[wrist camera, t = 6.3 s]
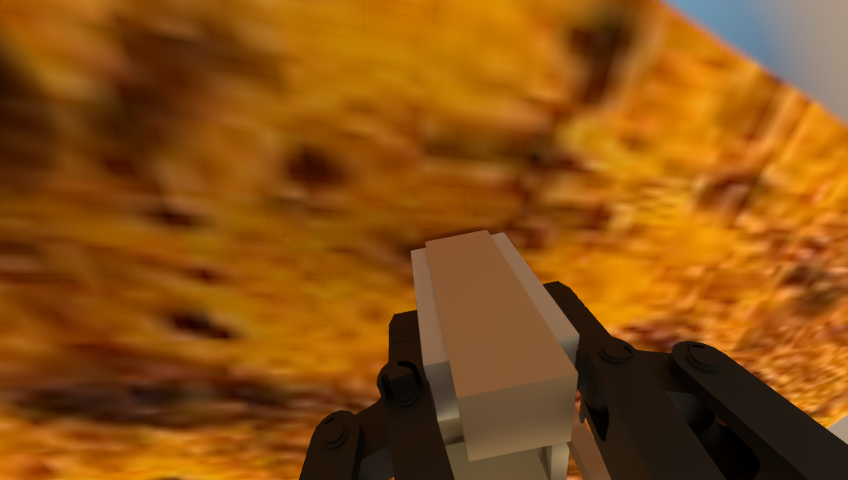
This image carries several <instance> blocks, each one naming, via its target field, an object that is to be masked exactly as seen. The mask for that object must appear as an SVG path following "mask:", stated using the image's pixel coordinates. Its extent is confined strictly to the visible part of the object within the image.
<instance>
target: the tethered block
mask: <svg viewBox="0 0 848 480" xmlns="http://www.w3.org/2000/svg"><path fill="white" fill-rule="evenodd" d="M425 245H426V250H427V255H428V260H429V265H430V270H431V275H432V279H433V284H434V289H435V294H436V299H437V304H438V309H439V314H440V319H441V323H442V328H443V333H444V338H445V343H446V348H447V353H448V358H449V363H450V368H451V373H452V378H453V383H454V389H455V394H456V399H457V404H458V409H459V415H460V420H461V425H462V430H463V434H464V439H465V442H461V443H456V444H451V445H446V446H445V448H446V451H447V455H448V458H449V461H450V465H451V468H452V471H453V475H454V478H455V480H548V479H547V477H546V474H545V472H544V469H543V467H542V464H541V461H540V459H539V456H538V454H537V451H536V449H535V448H539V447H544V446H549V445H554V444H559V443H564V442H569V441H571V434H572V425H573V416H574V408H575V399H576V390H577V381H578V372H577V371H576V369H575V367H574V366H573V364H572V363H571V361H570V360H569V358H568V356H567V355H566V353H565V352H564V350H563V349H562V347H561V345H560V344H559V342H558V341H557V339H556V338H555V336H554V334H553V333H552V331H551V330H550V328H549V327H548V325H547V323H546V322H545V320H544V319H543V317H542V316H541V314H540V312H539V311H538V309H537V308H536V306H535V305H534V303H533V301H532V300H531V298H530V297H529V295H528V294H527V292H526V290H525V289H524V287H523V286H522V284H521V283H520V281H519V279H518V278H517V276H516V275H515V273H514V272H513V270H512V268H511V267H510V265H509V264H508V262H507V261H506V259H505V257H504V256H503V254H502V253H501V251H500V250H499V248H498V246H497V245H496V243H495V242H494V240H493V239H492V237H491V235H490V234H489V232H488V231H487V230H482V231H477V232H472V233H467V234H462V235H457V236H452V237H447V238H442V239H436V240H431V241H426V242H425Z"/></svg>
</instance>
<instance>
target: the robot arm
mask: <svg viewBox="0 0 848 480" xmlns="http://www.w3.org/2000/svg"><path fill="white" fill-rule="evenodd" d="M491 237H492V239H493V240H494V242H495V243H496V245H497V246H498V248H499V250H500V251H501V253H502V254H503V256H504V257H505V259H506V261H507V262H508V264H509V265H510V267H511V268H512V270H513V272H514V273H515V275H516V276H517V278H518V279H519V281H520V283H521V284H522V286H523V287H524V289H525V290H526V292H527V294H528V295H529V297H530V298H531V300H532V301H533V303H534V305H535V306H536V308H537V309H538V311H539V312H540V314H541V316H542V317H543V319H544V320H545V322H546V323H547V325H548V327H549V328H550V330H551V331H552V333H553V334H554V336H555V338H556V339H557V341H558V342H559V344H560V345H561V347H562V349H563V350H564V352H565V353H566V355H567V356H568V358H569V360H570V361H571V363H572V364H573V366H574V367H575V369H576V371H577V372H578V381H577V389H578V390H579V392H580V394H581V395H582V397H581V405H580V413H579V418H580V423H584V420H585V417H586V419H587V422H588V424H589V427H590V429H591V432H592V434H593V437H594V439H595V441H596V444H597V446H598V449H599V451H600V454H601V456H602V458H603V461H604V463H605V466H606V468H607V471H608V473H609V476H610V478H611V480H848V444H846V443H845V442H844V441H842V440H841V439H839V438H838V437H837V436H835V435H834V434H833V433H831V432H830V431H829V430H827V429H826V428H825V427H823V426H822V425H821V424H819V423H818V422H816V421H815V420H814V419H812V418H811V417H810V416H808V415H807V414H806V413H804V412H803V411H802V410H800V409H799V408H797V407H796V406H795V405H793V404H792V403H791V402H789V401H788V400H787V399H785V398H784V397H783V396H781V395H780V394H779V393H777V392H776V391H774V390H773V389H772V388H770V387H769V386H768V385H766V384H765V383H764V382H762V381H761V380H760V379H758V378H757V377H755V376H754V375H753V374H751V373H750V372H749V371H747V370H746V369H745V368H743V367H742V366H741V365H739V364H738V363H737V362H735V361H734V360H732V359H731V358H730V357H728V356H727V355H726V354H724V353H723V352H721V351H719V350H717V349H716V348H714V347H712V346H709V345H706V344H703V343H699V342H693V341H685V342H679V343H677V344H676V345H674V346H673V349H672V351H671V353H664V352H650V351H642V350H636V349H635V348H634V347H633V346H632V345H630V344H628V343H627V342H625V341H623V340H621V339H618V338H615V337H612V336H611V335H610V334H609V333H608V332H607V331H606V329H605V328H604V327H603V326H602V325H601V324H600V322H599V321H598V320H597V319H596V318H595V317H594V315H593V314H592V313H591V312H590V311H589V310H588V308H587V307H585V306H584V304H583V303H582V301H581V300H580V299H578V297H577V296H576V294H575V293H574V292H573V291H572V290H571V289H570V288H569V287H567V286H566V285H564V284H562V283H560V282H559V281H556V282H551V283H546V284H542V283H541V282H540V281H539V279H538V278H537V277H536V275H535V274H534V273H533V271H532V270H531V268H530V267H529V266H528V264H527V263H526V262H525V260H524V259H523V258H522V256H521V255H520V254H519V252H518V251H517V249H516V248H515V247H514V245H513V244H512V243H511V241H510V240H509V239H508V237H507V236H506V235H505V233H504V232H503V233H498V234H493V235H491ZM411 259H412V268H413V277H414V286H415V295H416V304H417V310H413V311H408V312H403V313H398V314H394V316H393V318H392V320H391V322H390V324H389V362H388V363H387V364H386V365H385V366H384V367H383V368H382V369H381V371H380V373H379V375H378V378H377V386H378V389H379V391H380V394H381V398H380V399H379V400H378V401H377V402H376V403H375V404H373V405H372V406H370V407H369V408H367V409H365V410H363V411H361V412H359V413H357V414H356V415H354V414H353V413H351V412H350V411H343V410H340V411H337V412H334V413H331V414H330V415H328V416H327V417H326V418H324V419H323V420H322V421H321V422H320V424H319V425H318V426H317V427H316V429H315V431H314V433H313V435H312V438H311V441H310V445H309V448H308V451H307V455H306V458H305V461H304V464H303V468H302V471H301V474H300V478H299V480H389V479H391V478H392V477H394V479H395V480H455V478H454V475H453V471H452V468H451V465H450V461H449V458H448V455H447V451H446V448H445V444H444V441H443V438H442V434H441V431H440V427H439V424H438V421H442V420H447V419H452V418H457V417H460V415H459V409H458V404H457V399H456V394H455V389H454V383H453V378H452V373H451V368H450V363H449V358H448V353H447V348H446V343H445V338H444V333H443V328H442V323H441V319H440V314H439V309H438V304H437V299H436V294H435V289H434V284H433V279H432V275H431V270H430V265H429V260H428V255H427V250H426V248H422V249H417V250H412V251H411Z"/></svg>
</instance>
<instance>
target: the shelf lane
mask: <svg viewBox="0 0 848 480" xmlns="http://www.w3.org/2000/svg"><path fill="white" fill-rule="evenodd" d="M438 424H439V427H440V431H441V434H442V438H443V441H444V444H445V446H446V445H451V444H456V443H461V442H465V439H464V434H463V430H462V425H461V420H460V417H457V418H452V419H447V420H442V421H438ZM535 449H536V451H537V454H538V456H539V459H540V461H541V464H542V467H543V469H544V472H545V474H546V477H547V479H548V480H566V478H567V467H568V456H569V450H570V452H571V454H572V456H573V458H574V460H575V462H576V464H577V466H578V468H579V470H580V472H581V475H582V477H583V479H584V480H611V478H610V476H609V473H608V471H607V468H606V466H605V463H604V461H603V458H602V456H601V454H600V451H599V449H598V446H597V444H596V442H595V440H594V438H593V437H592V435H591V433H590V431H589V430H588V428H587V426H586V424H585V422H584V423H580V418H579V412H578V410H577V408H576V406H575V408H574V416H573V425H572V434H571V441H569V442H564V443H559V444H554V445H549V446H544V447H539V448H535Z"/></svg>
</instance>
